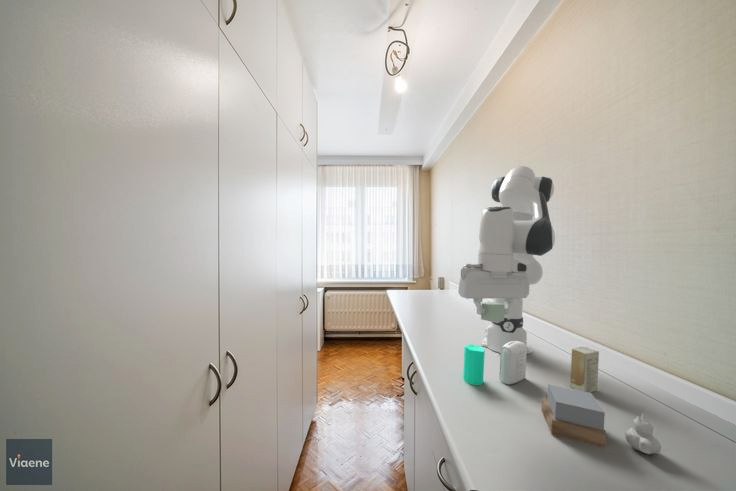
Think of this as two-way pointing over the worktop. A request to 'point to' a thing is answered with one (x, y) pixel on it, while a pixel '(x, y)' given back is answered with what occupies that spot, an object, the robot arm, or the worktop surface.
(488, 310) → the sage cube
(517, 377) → the photo printer
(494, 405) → the worktop surface
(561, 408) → the gray block
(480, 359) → the candle
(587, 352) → the skincare box
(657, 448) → the white figurine
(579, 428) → the walnut block
